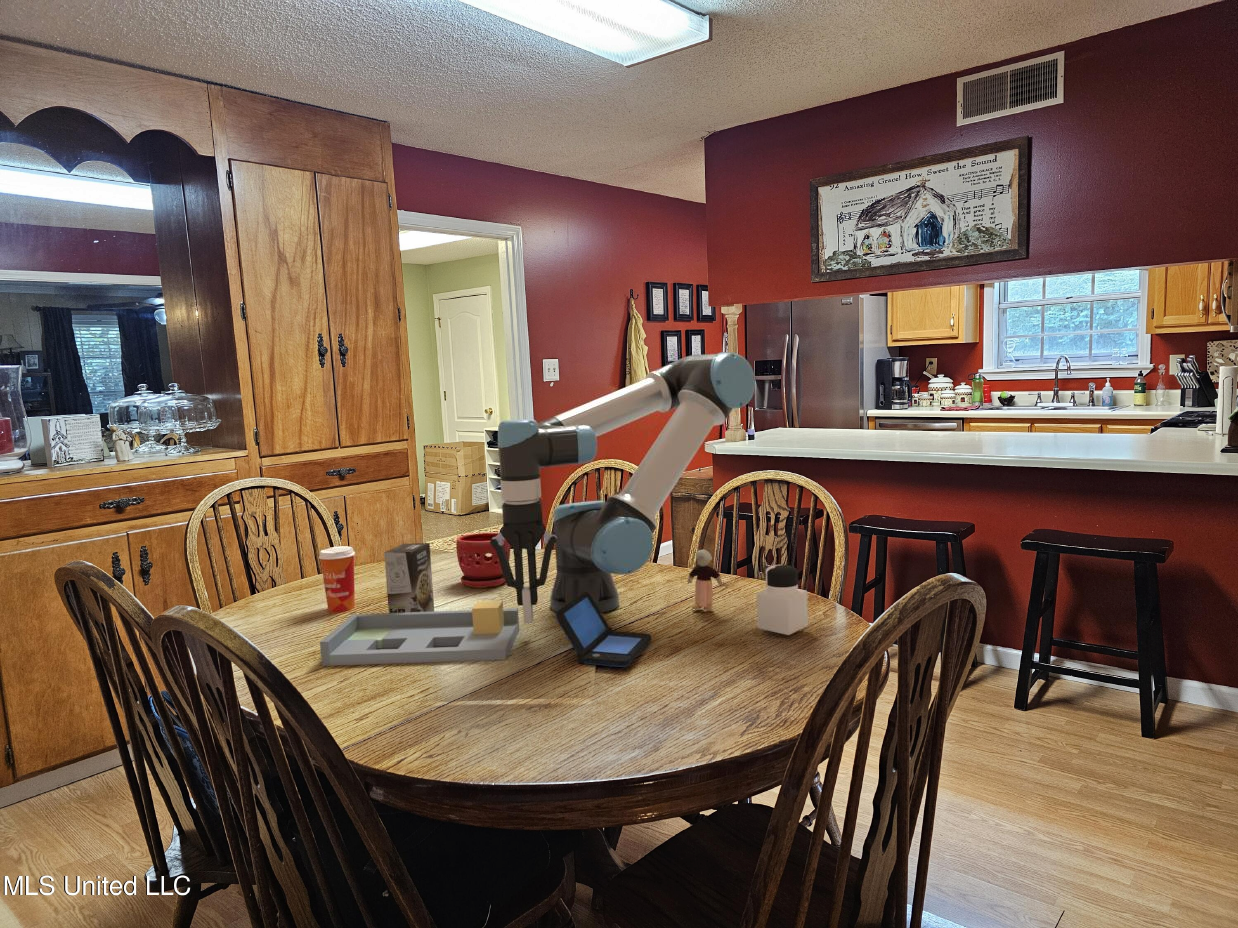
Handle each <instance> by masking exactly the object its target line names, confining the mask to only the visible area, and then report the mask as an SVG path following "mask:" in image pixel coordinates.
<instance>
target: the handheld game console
mask: <svg viewBox="0 0 1238 928" xmlns="http://www.w3.org/2000/svg"><path fill="white" fill-rule="evenodd" d="M555 617H556V619H557V620H556V621H557V622H558V624H559V625H560V627H561V629H562V631H563V632H564V634H565V636H566V637H567V639H568V641H569V643H570V644H571V646H572V647H573V649H574V651H575V652H576V654H578V655H577V663H578V664H580V665H582V664H585V665H586V664H587V665H595V666H604V667H605V666H606V667H607V666H608V667H617V668H626V667H627V666H629V665H630V664H631V663H632V662H633V661H634V660H635V659H636V658H637V657H638V656H639V655H640V653H641V652H642V651H643V650H644V649H645V648H646V647H647V646H648V645H649V643H650V642H651V641H652V634H650V633H647V632H646V633H645V632H630V631H620V630H619V631H618V630H617V631H616V630H615V631H614V630H613V627H611V626H609V624H608V622H607V621H606V618H605V617H604V616H603V615H602V613H600V610H599V609H598V607H597V606H596V604H595V602H594V601H593V599H592V597H591V596H590V594H589V593H587V592H584V593H582V594H581V595H580V596H578V597H577V598H575V599H574V600H573V601H571V602H570V603H568V604H567V605H565V606H564V607H563V608H561V609H560V610H558V611H557V612H555Z"/></svg>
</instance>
